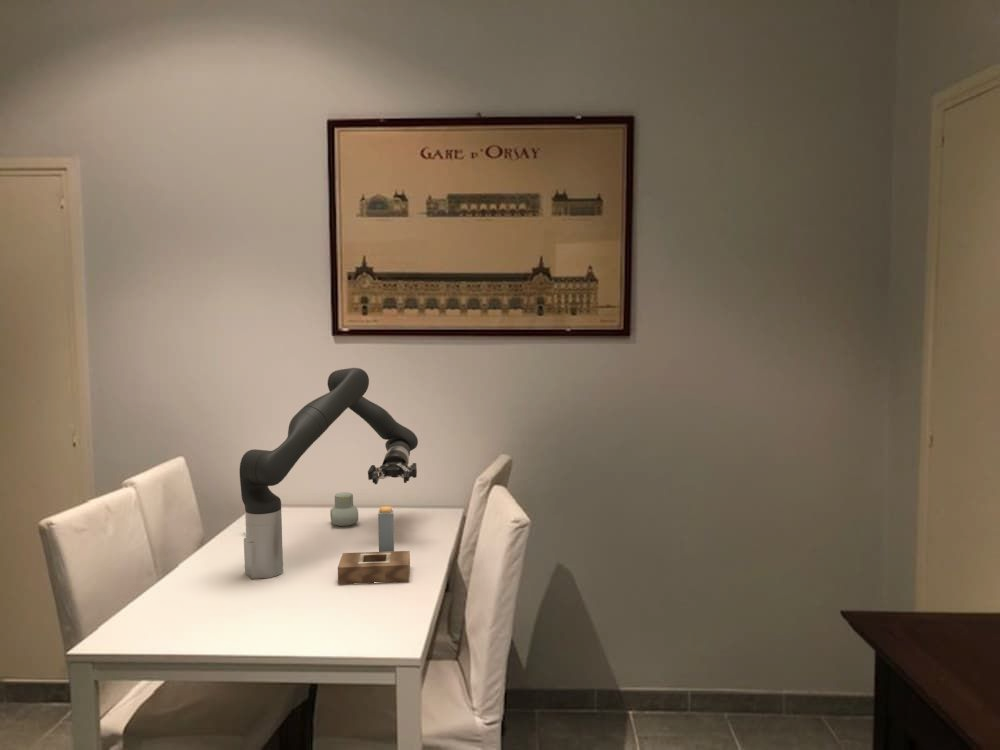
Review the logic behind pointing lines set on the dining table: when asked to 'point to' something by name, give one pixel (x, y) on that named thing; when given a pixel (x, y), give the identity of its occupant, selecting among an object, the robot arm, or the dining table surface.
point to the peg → (386, 529)
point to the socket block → (374, 567)
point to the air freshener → (344, 510)
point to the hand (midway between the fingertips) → (390, 480)
